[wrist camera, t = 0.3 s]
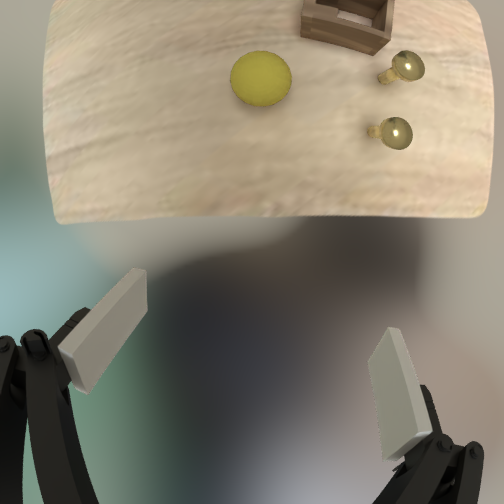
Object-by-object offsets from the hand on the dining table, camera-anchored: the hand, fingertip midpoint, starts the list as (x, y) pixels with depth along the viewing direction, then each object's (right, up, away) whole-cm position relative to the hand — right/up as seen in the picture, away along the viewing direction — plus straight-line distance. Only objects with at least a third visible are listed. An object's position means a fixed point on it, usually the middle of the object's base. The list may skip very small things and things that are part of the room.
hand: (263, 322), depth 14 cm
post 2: (+16, +20, +19) cm, 31 cm away
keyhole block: (+12, +38, +11) cm, 41 cm away
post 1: (+17, +27, +15) cm, 35 cm away
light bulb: (+1, +25, +19) cm, 31 cm away
